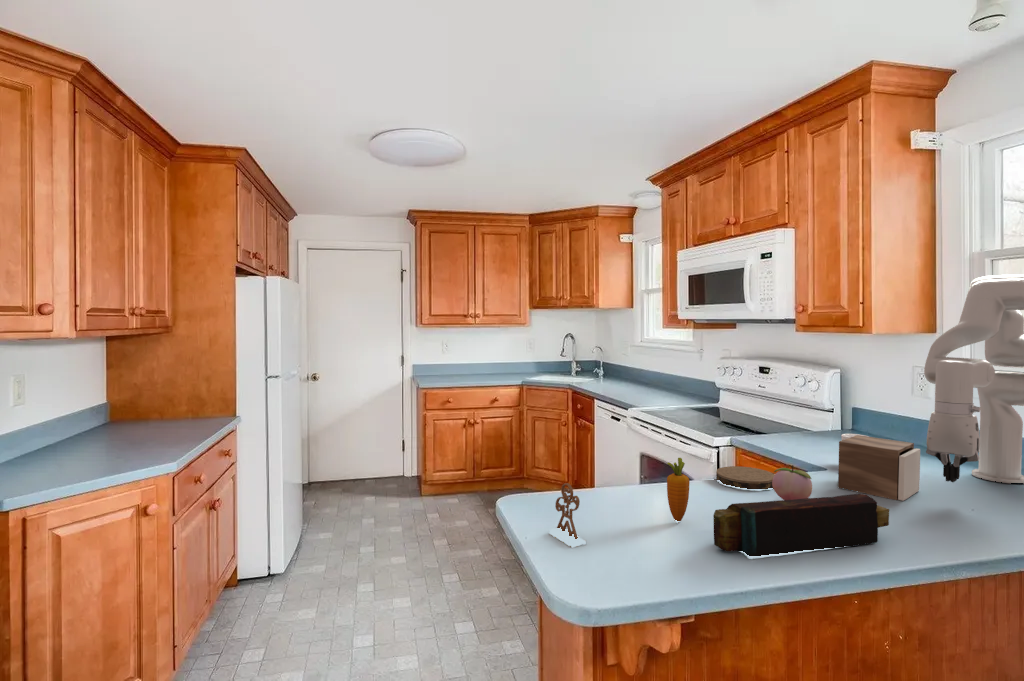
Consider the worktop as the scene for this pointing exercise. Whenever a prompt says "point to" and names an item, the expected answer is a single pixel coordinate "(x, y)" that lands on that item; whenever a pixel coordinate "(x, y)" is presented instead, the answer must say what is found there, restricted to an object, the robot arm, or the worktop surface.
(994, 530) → the worktop surface
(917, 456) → the drawer
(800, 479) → the decorative fruit
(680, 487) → the carrot
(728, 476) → the brown round disc
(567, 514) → the gingerbread man figurine
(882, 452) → the cabinet
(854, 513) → the packaged item
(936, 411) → the robot arm
